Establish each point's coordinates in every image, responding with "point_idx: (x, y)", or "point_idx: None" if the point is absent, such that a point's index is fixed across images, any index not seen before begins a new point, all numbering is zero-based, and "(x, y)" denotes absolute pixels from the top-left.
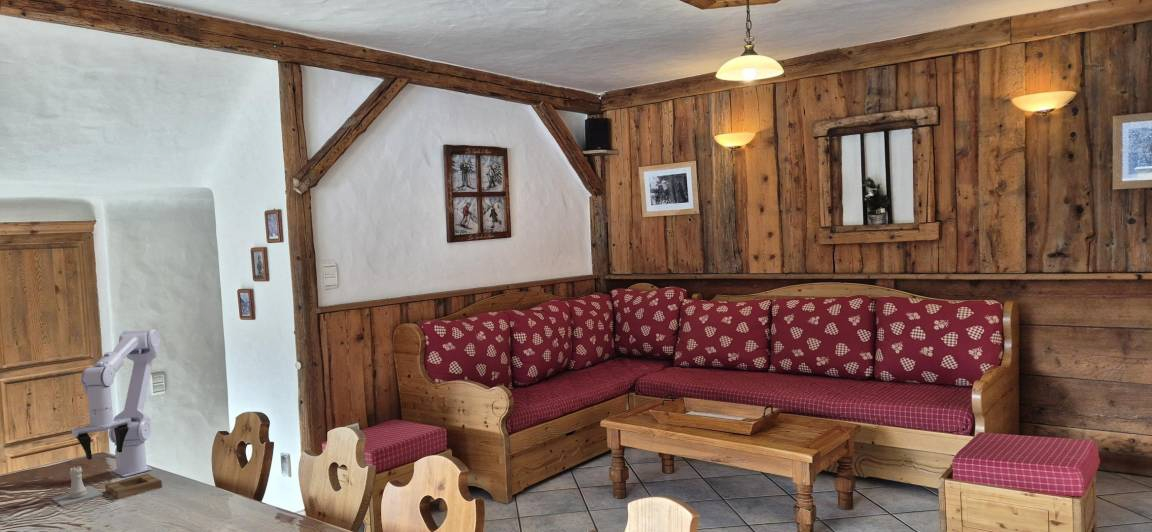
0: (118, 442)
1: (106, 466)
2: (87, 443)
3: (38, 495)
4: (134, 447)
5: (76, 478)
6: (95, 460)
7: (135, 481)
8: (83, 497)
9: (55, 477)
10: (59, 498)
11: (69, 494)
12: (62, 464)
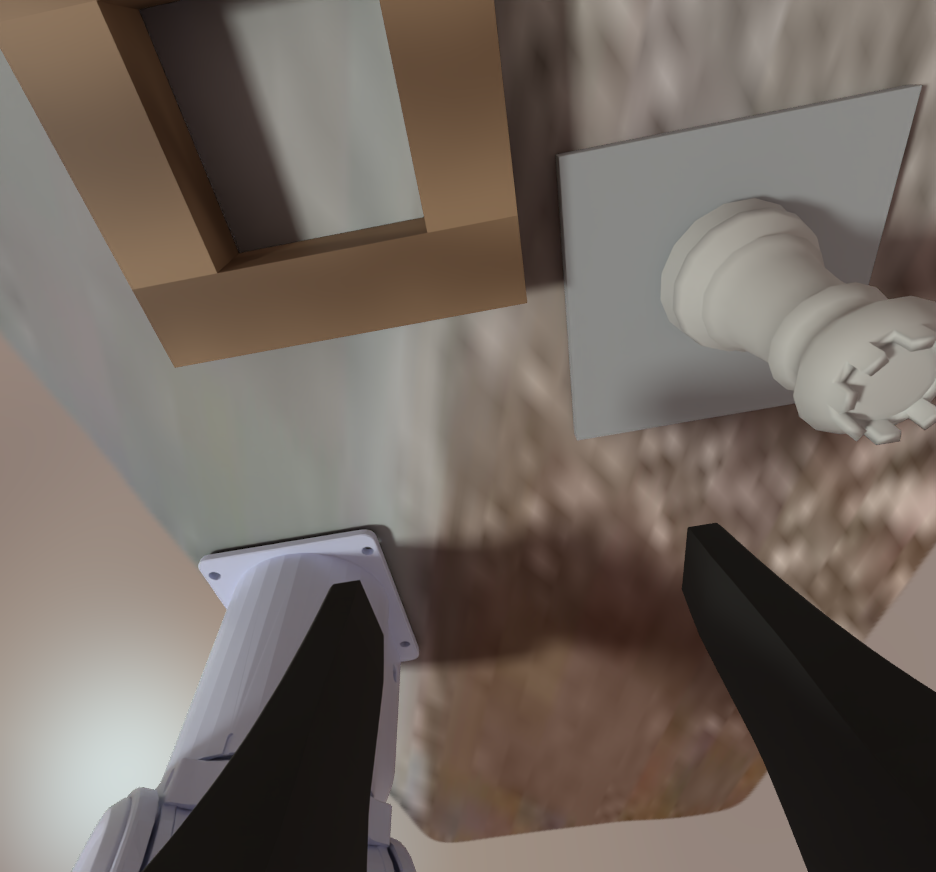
0: (342, 731)
1: (438, 730)
2: (933, 743)
3: (823, 519)
4: (239, 730)
5: (848, 285)
6: (466, 803)
7: (276, 255)
8: (712, 184)
9: (647, 713)
10: None
11: (740, 371)
12: (575, 815)
